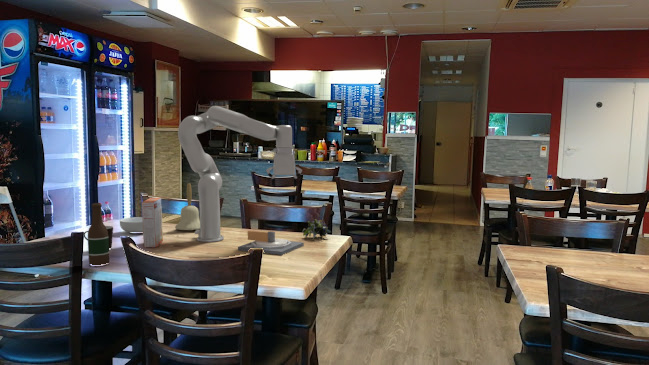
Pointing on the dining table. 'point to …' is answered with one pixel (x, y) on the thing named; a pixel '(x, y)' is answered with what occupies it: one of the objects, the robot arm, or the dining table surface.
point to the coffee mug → (110, 234)
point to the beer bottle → (98, 238)
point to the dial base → (273, 247)
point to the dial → (265, 238)
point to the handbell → (189, 214)
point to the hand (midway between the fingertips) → (284, 186)
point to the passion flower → (316, 228)
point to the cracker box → (152, 222)
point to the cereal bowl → (132, 224)
